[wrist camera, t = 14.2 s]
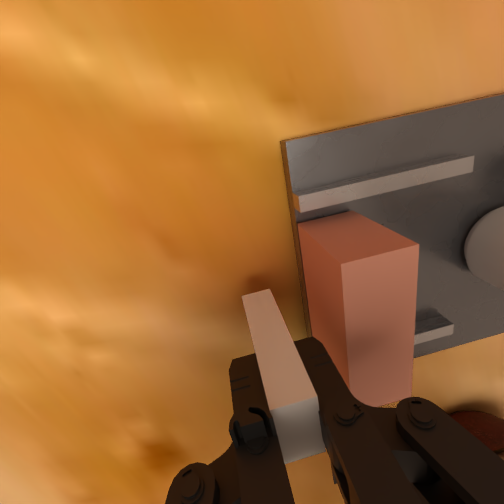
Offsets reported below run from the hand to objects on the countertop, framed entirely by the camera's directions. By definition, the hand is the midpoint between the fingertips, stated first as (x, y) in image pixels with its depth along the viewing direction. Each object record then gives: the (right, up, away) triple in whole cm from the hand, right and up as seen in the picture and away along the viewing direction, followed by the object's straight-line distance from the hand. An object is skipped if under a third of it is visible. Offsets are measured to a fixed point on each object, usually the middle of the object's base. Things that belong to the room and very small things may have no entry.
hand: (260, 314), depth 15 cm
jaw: (+4, +1, +1) cm, 5 cm away
